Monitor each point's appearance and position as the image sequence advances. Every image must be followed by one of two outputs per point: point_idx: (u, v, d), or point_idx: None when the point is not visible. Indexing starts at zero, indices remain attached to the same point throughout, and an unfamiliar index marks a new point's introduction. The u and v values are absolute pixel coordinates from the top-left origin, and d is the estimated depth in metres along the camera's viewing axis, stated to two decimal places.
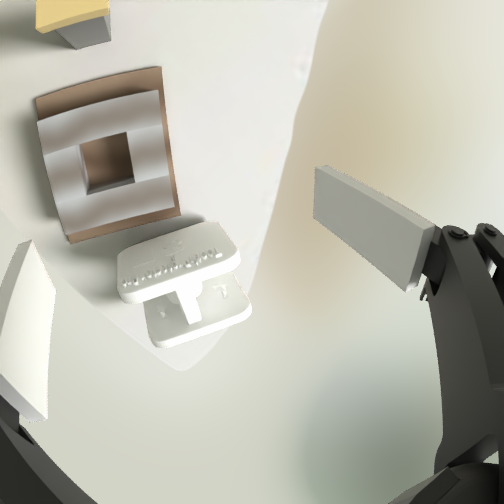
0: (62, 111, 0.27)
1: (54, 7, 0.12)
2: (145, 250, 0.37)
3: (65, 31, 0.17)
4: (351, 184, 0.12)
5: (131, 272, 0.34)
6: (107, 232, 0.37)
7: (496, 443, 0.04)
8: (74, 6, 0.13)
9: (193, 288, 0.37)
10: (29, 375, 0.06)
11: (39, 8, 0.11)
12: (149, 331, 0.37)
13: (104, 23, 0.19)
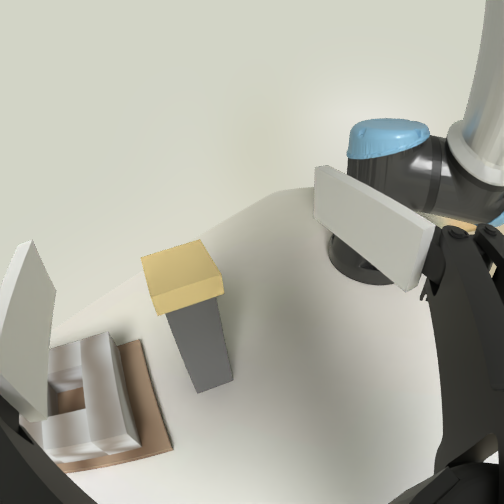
0: (123, 364, 0.33)
1: (158, 262, 0.25)
2: None
3: None
4: (351, 184, 0.12)
5: None
6: None
7: (496, 443, 0.04)
8: (155, 274, 0.23)
9: None
10: (29, 375, 0.06)
11: (159, 253, 0.26)
12: None
13: None
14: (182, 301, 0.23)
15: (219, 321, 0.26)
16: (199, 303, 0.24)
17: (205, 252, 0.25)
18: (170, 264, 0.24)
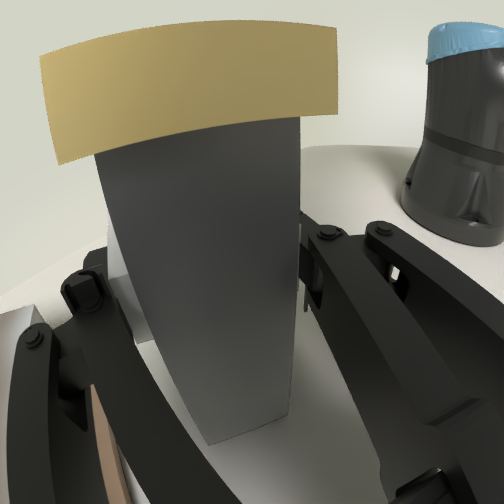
0: None
1: None
2: None
3: None
4: None
5: None
6: None
7: None
8: None
9: None
10: None
11: None
12: None
13: None
14: (174, 98, 0.04)
15: (295, 247, 0.08)
16: (240, 150, 0.06)
17: None
18: None
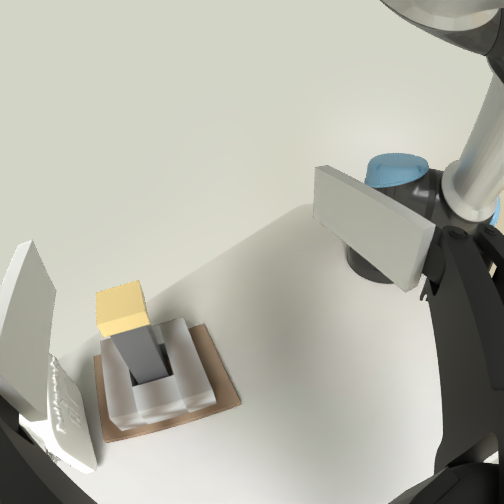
0: (193, 343, 0.46)
1: (106, 297, 0.32)
2: (75, 399, 0.33)
3: None
4: (351, 184, 0.12)
5: (60, 373, 0.32)
6: (96, 382, 0.39)
7: (496, 443, 0.04)
8: (102, 307, 0.30)
9: None
10: (29, 375, 0.06)
11: (109, 290, 0.33)
12: None
13: (122, 357, 0.33)
14: (119, 328, 0.29)
15: (152, 342, 0.33)
16: (134, 329, 0.31)
17: (139, 291, 0.32)
18: (114, 300, 0.31)
